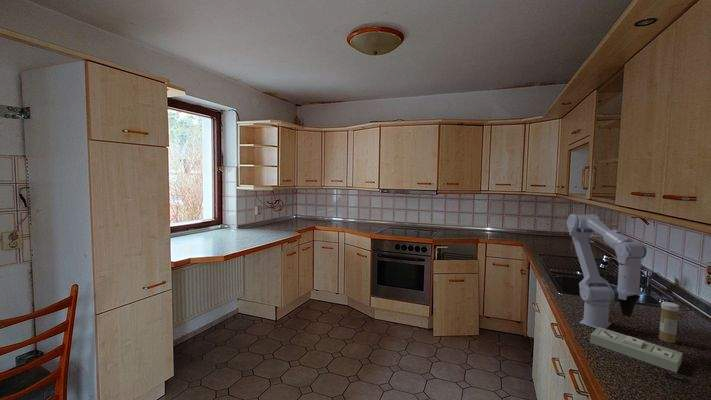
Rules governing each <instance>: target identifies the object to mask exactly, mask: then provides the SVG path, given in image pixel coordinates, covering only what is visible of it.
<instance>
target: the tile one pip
mask: <svg viewBox="0 0 711 400" xmlns="http://www.w3.org/2000/svg"><path fill="white" fill-rule="evenodd" d="M644 341H645V340H643V339H639V338H638V337H635V336H634V337H633V336H631V335H627V337H626V338H625V339H624V343H626V344H629V345H632V346H635V347H638V348H641V349H642V348H643V347H644Z"/></svg>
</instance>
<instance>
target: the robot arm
mask: <svg viewBox="0 0 711 400" xmlns="http://www.w3.org/2000/svg"><path fill="white" fill-rule="evenodd" d="M566 226H567V229H568V233H569V236H571V239H572V242H573V245H574V248H575V252H576V255H577V258H578V262H579V264H580V268H581V271H582V275H583V279H582V280H581V281H580V282H579V283H578V286H579V295H580V296H579V297H580V298H581V299H582V301H584V304H583V305H584V306H583V307H584V308H583V318H582V320H580V321H579V324H581V325H584V326H587V327H591V328H593V329H595V330H596V329H597V328H598V327H601V328H604V329H607V328H608V327H609V326H611V325H612V323H611V322H610V321H609V313H610V306H609V305H611V303H612V302H613V301H614V299H615V296H616V299H617V300H618V302H619V305H620V306H619V307H620V310H621V314H622V316H626V317H629V318H630V317H631V316H632V314H633V313H634V309H635V306H636V303H637V302H638V300H639V299H640V295H644V294H645V292H644V291H642V290H640V285H641V283H640V282H641V269H642V267H641V266H642V259H644V258H645V257H646V256H647V253H648V252H647V247H646V245H645V244H643V242H641V241H638V240H636V241H635V240H632V239H631V238H630V237H628V236H626V235H625V234H623V233H621V232H622V231H621V230H619V229H610V228H609V227H608V226H607V225H606V223H604V222H602V221H601V218H600V216H598V215H597V214H595V213H592V214H591V213H590V214H575V213H572V214H569V216H568V217H567V220H566ZM595 233H597V234H598V235H600V236H601V237H603V238H602V240H603V241H604V242H605V243H606V244H607V245H609V247H611V249H613V250H614V252H615V255H616V257H617V258H616V261H617V263H618V272H617V273H618V275H617V276H618V277H617V287H616V291H617V293H616V294H615V292H614V290H613V288H612V287H611V285H610V283H609V281H608V280H606V279H605V278H603V277H602V276H601V275H600V272H599V269H598V268H599V267H598V266H597V263H596V259H595V256H594V253H593V250H592V248H591V244H590V241H589V237H591V236H593V235H594V234H595Z"/></svg>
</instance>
